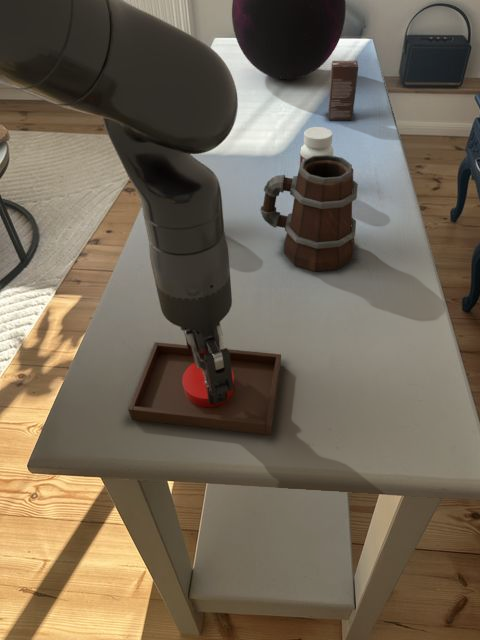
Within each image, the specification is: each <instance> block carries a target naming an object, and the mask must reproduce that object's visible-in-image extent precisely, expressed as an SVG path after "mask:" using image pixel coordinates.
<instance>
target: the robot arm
mask: <svg viewBox="0 0 480 640" xmlns="http://www.w3.org/2000/svg"><path fill="white" fill-rule="evenodd" d="M0 84H2V85H5V86H8V87H10V88H12V89H15V90H18V91H20V92H23V93H26V94H27V95H30V96H32V97H35V98H37V99H40V100H43V101H46V102H48V103H50V104H53V105H56V106H59V107H61V108H65V109H68V110H71V111H75V112H80V113H84V114H86V115H87V114H88V115H92V116H97V117H100V118H101V120H102V123H103V125H104V128H105V130H106V133H107V135H108V138H109V140H110V142H111V144H112V147H113V148H114V150H115V152H116V154H117V156H118V158H119V161H120V163H121V164H122V165H121V166H122V167H123V169H124V171H125V173H126V175H127V177H128V179H129V181H130V183H131V184H132V186H133V188H134V189H135V191H136V194H138V198H139V199H140V203H141V204H140V205H141V208H142V214H143V220H144V225H145V229H146V234H147V238H148V247H149V260H150V265H151V269H152V270H151V271H152V274H153V278H154V283H155V287H156V293H157V296H158V301H159V305H160V310H161V313H162V315H163V316H164V318H165V319H166V320H167V321H168V322H170V323H171V324H172V325H174V326H176V327H179V328H180V331H183V333H184V337H185V343H186V345H187V348H188V352H189V354H190V355H193V357H194V361H195V364H196V366H197V367H198V368H199V369H202V372H203V376H204V380H205V381H204V383H205V386H206V388H207V395H208V400H209V402H210V404H217V403H220V402H224V401H226V399H227V398H228V397H227V392H228V391H231V390H234V388H233V386H234V385H233V379H232V370H231V361H230V352H229V351H228V349H229V348H228V347H225V345H224V341H223V336H224V331H223V328H222V324H221V322H222V321H223V320H224V319H225V317H226V316H227V315H228V314H229V312H230V311H231V308H232V305H233V297H232V283H231V282H232V281H231V269H230V253H229V247H228V242H227V238H226V233H225V224H224V223H225V222H224V221H225V220H224V210H223V209H224V207H223V199H222V198H223V197H222V189H221V185H220V184H221V183H220V181H219V178H218V176H217V175H216V174H215V172H214V171H213V169H211V168H210V167H208V166H207V165H205V164H204V163H202V162H201V161H200V160H198V159H197V158H196V157H194V156H193V155H199V154H200V155H201V154H205V153H208V152H210V151H213V150H214V149H215V148H217V147H219V146H220V145H221V144H222V143H223V142H224V141H225V140H226V139H227V138H228V136H229V135H230V133H232V130H233V128H234V125H235V124H236V121H237V116H238V109H239V108H238V106H239V101H238V100H239V99H238V91H237V87H236V83H235V79H234V77H233V75H232V73H231V70H230V69H229V67H228V65H227V64H226V62H225V61H224V60H223V58H222V57H221V56H220V54H218V53H217V52H216V51H215V50H214V49H213V48H212V47H211V46H209V45H208V44H207V43H205V42H204V41H202V40H200V39H198V38H196V37H195V36H194V35H191V34H189V33H188V32H186V31H184V30H182V29H180V28H179V27H176V26H175V25H172V24H171V23H169V22H167V21H165V20H163V19H161V18H160V17H157V16H155V15H153V14H151V13H149V12H147V11H145V10H142V9H140V8H138V7H136V6H134V5H132V4H130V3H128V2H127V1H125V0H0ZM206 352H209V353H208V354H205V355H204V359H203V360H201V359H200V356H199V353H206Z"/></svg>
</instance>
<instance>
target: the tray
mask: <svg viewBox="0 0 480 640" xmlns="http://www.w3.org/2000/svg"><path fill="white" fill-rule="evenodd" d="M227 349H228V351H229V352H230V361H231V369H232V370H233V373H234V382H235V389H234V392H233V394H232V396H231V397H230V398H229V399H228V400H227V401H226V402H224V403H223V404H221V405H218V406H214V407H201V406H197V405H195V404H193V403H192V402H191V401H189V400H188V398H187V397H186V395H185V392H184V387H183V375H184V373H185V371H186V370H187V368H188V367H189V366H191V365H192V364H193V363H195V361H194V357H193V355H190V354H189V352H188V348H187V344H177V343H168V342H167V343H166V342H158V341H155V342H154V343H153V346H152V348H151V351H150V353H149V356H148V358H147V361H146V363H145V366H144V369H143V370H142V373H141V376H140V378H139V381H138V383H137V385H136V388H135V390H134V393H133V396H132V398H131V400H130V403H129V406H128V409H127V410H128V413H129V416H130V419H131V420H134V421H135V420H136V421H142V422H153V423H162V424H169V425H179V426H187V427H198V428H205V429H206V428H207V429H213V430H223V431H233V432H240V433H241V432H242V433H250V434H259V435H267V436H271V433H272V426H273V420H274V414H275V408H276V407H275V406H276V400H277V394H278V388H279V387H278V386H279V379H280V374H281V373H280V372H281V368H282V367H281V366H282V354H281V353H270V352H260V351H251V350H240V349H239V350H238V349H230V348H227ZM208 353H209V352H206V353H199V356H200V359H201V360H203V359H204V355H205V354H208Z"/></svg>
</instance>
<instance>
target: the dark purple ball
mask: <svg viewBox="0 0 480 640" xmlns="http://www.w3.org/2000/svg"><path fill="white" fill-rule="evenodd" d="M231 2H232V3H231V20H232V21H231V22H232V27H233V32H234V36H235V39H236V42H237V44H238V47H239V49H240V50H241V51H242V53H243V55H244V57H245V58H246V59H247V61H248V62H249V63H250V64H251V65H252V66H253V67H254V68H255V69H256V70H258V71H259V72H260V73H263V74H265V75H266V76H268V77H271V78H275V79H278V80H279V79H280V80H294V79H295V80H296V79H300V78H303V77H306V76H308V75H309V74H312V73H313V72H315V71H316V70H319V68H320V67H321V66H323V65H324V64H325V63H326V62H327V60H329V58H330V57H331V56H332V54H333V53H334V51H335V50H336V48H337V46H338V44H339V41H340V39H341V37H342V33H343V30H344V26H345V20H346V12H347V11H346V10H347V9H346V7H347V6H346V0H232V1H231Z"/></svg>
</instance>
